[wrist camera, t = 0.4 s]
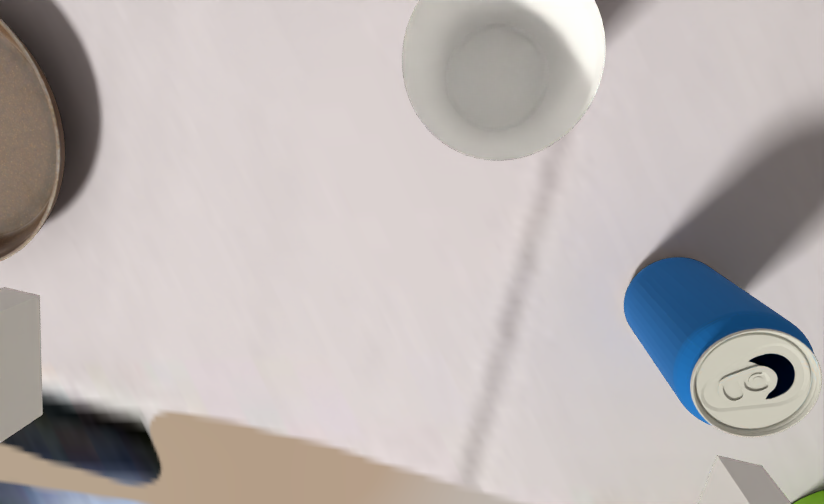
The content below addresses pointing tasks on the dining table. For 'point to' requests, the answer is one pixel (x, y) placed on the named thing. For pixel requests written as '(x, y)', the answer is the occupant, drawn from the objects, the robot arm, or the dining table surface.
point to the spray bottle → (812, 498)
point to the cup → (502, 71)
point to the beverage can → (722, 349)
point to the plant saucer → (26, 145)
